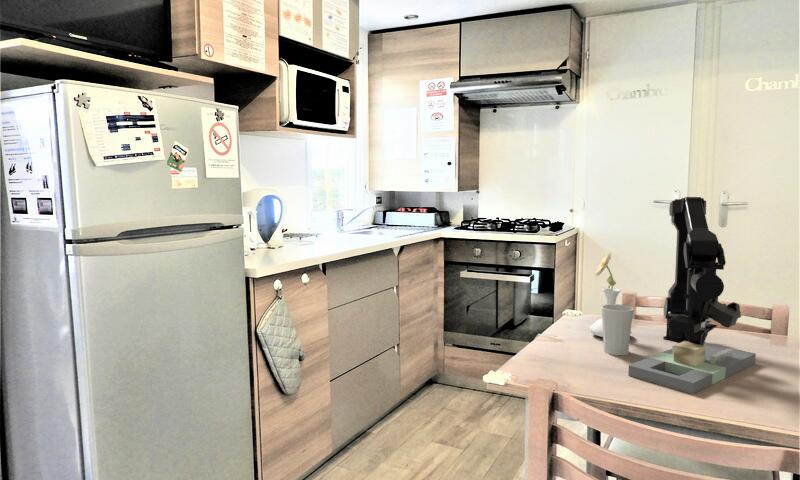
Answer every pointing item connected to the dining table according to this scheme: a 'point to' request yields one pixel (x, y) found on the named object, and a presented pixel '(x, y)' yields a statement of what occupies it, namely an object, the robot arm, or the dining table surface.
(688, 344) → the beech block
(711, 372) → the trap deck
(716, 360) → the channel rails
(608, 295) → the flower in vase
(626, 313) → the cup
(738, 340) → the dining table surface
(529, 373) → the dining table surface
